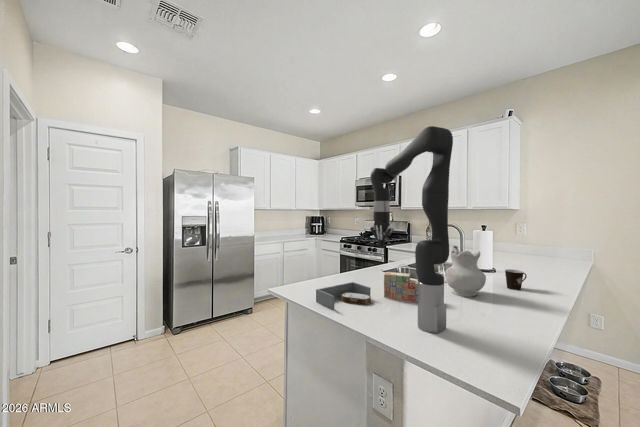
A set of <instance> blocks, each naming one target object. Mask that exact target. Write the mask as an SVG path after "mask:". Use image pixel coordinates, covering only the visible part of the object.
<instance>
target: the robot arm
mask: <svg viewBox="0 0 640 427" xmlns="http://www.w3.org/2000/svg"><path fill="white" fill-rule="evenodd" d="M453 145H454V137H453V133H452V131H451V130H450V129H448V128H445V127H439V126H433V125H431V126H430V125H429V126H427V127H425V128H424V129H423V130H421V132H419V133H418V134H417V135H416V136H415V137H414V138H413V140H412V141H411V142H410V143H409V144H408V145H407V146H406V147H405V148H404V149H403V150H401V152H399V153H398V154H397V155H396V156H394V157H393V158H392V159H391V160H389V161H388V162H386V164H385V168H382V167H381V168H380V167H374V168H373V169H372V170H371V173H370V182H371V186H372V190H373V194H374V195H373V221H374V222H373V226H371V227H370V228H369V229H370V231H371V233H372V235H373V237H374V238H375V239H377V241H378V244H377V245H378V248H381V249H382V248H383V249H384V248H385V247H386V240H387V239H389V238H390V237H391V235H392V233H393V232H394V230H395V228H393V227H391V224H390V220H391V204H390V190H389V189H388V188H385V187H384V184H385V185H386V184H390V183H392V182H393V181H394V179H396V178H397V177H398V175H399V174H402V173H403V172H405V171H406V170H407V169H408V168H410V167H411V164H412V163H413V160H414V159H415V158H417V157H418V156H421V154H423V153H426V152H427V153H432V166H431V170H430V172H429V174H428V175H427V177H426V179H425V181H424V184H423V185H422V190H421V191H422V192H421V206H422V209H423V211H424V214H425V216H426V218H427V219H428V221H429V224H430V227H431V239H427V240H425V239H424V240H420V241H418V242H417V243H416V246H415V250H414V251H415V252H414V253H415V254H414V255H415V256H414V257H415V259H414V260H415V272H416V277H417V280H418V302H417V328H419V330H421V331H425V332H429V333H434V334H439V333H443V332H444V331H446V330H447V303H445V276H444V275H443V274H441V273H437V272H436V271H435V265H442V264H446V262H448V259H449V256H450V241H449V240H450V238H449V216H448V215H449V213H448V212H449V197H450V196H449V192H450V189H449V188H450V186H449V185H450V183H449V182H450V167H451V160H452V152H453Z"/></svg>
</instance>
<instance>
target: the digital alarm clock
mask: <svg viewBox="0 0 640 427" xmlns="http://www.w3.org/2000/svg"><path fill="white" fill-rule="evenodd" d="M340 301H341V302H343V303H349V304H355V305H363V306H365V305H370V304H371V303H372V296H371V295H370V296H369V295H366V294H358V293H343V294H342V295H341V297H340Z"/></svg>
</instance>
